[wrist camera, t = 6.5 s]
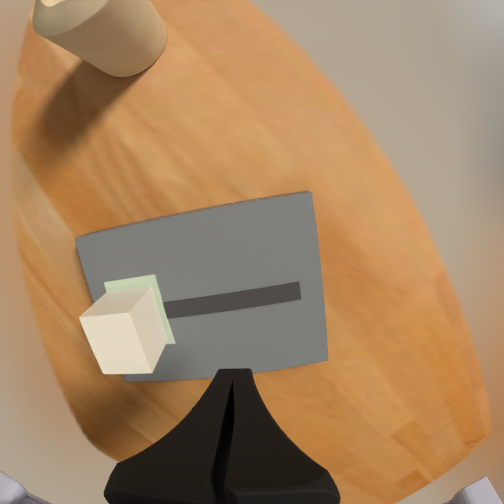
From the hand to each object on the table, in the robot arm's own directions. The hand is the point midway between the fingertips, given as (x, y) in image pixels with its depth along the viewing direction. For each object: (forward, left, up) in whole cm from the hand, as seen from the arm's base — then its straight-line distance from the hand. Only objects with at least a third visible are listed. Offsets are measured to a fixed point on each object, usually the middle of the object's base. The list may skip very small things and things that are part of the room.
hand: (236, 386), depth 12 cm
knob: (+1, +7, -8) cm, 10 cm away
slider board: (+1, +3, -9) cm, 10 cm away
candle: (+20, +5, -10) cm, 22 cm away
